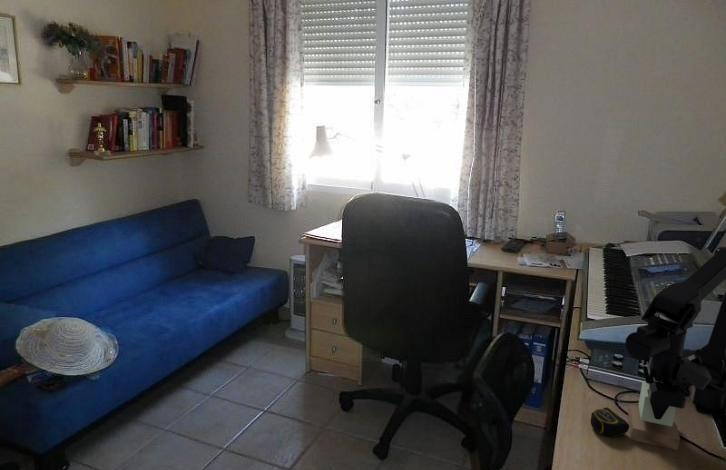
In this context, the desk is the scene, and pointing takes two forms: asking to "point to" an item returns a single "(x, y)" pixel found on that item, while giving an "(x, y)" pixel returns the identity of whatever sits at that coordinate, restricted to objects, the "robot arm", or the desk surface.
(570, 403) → the desk surface
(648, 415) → the sage block
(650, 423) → the tan square block
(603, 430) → the tape measure
